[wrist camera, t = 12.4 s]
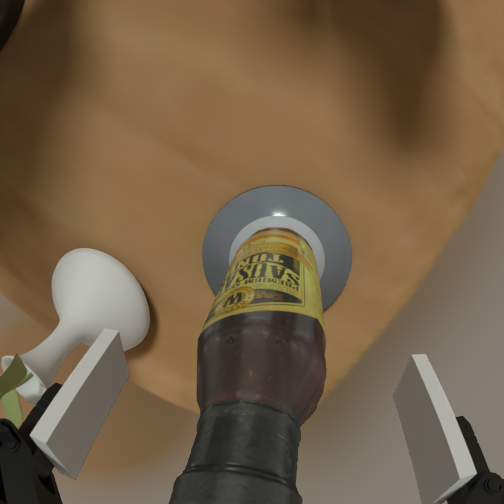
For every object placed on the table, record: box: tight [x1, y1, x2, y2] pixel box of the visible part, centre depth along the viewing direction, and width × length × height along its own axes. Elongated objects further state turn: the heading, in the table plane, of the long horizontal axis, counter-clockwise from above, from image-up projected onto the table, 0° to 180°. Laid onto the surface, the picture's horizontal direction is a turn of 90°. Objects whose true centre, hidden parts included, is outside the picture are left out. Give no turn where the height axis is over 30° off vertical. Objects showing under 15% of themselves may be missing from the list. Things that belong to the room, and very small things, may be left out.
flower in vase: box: [0, 248, 150, 429], centre depth 17 cm, size 13×11×25 cm
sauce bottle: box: [169, 227, 326, 504], centre depth 15 cm, size 7×6×20 cm
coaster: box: [202, 185, 352, 310], centre depth 25 cm, size 12×12×1 cm
